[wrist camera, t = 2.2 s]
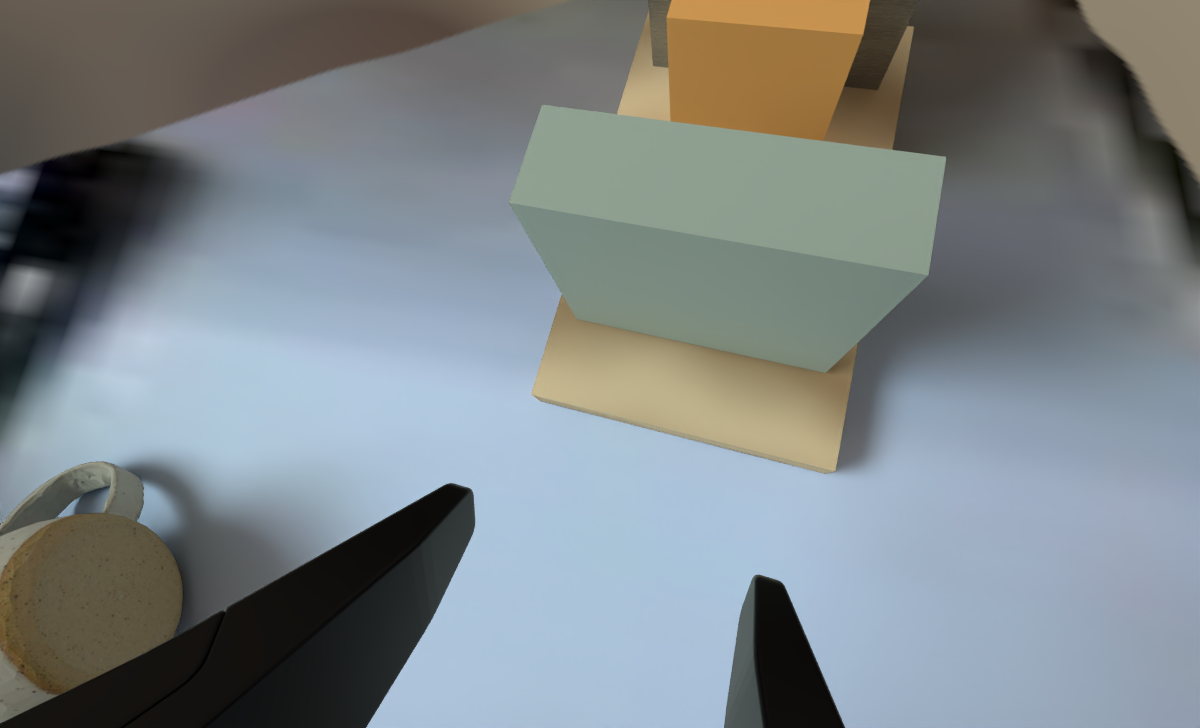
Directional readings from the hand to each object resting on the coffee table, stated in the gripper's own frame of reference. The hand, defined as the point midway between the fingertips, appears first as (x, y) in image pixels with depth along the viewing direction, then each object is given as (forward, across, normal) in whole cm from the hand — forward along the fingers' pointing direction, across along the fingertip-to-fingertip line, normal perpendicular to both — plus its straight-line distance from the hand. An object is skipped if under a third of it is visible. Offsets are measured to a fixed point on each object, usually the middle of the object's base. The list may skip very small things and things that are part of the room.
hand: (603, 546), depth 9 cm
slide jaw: (+15, 0, +2) cm, 15 cm away
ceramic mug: (+3, +23, +16) cm, 29 cm away
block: (+21, 0, -4) cm, 21 cm away
